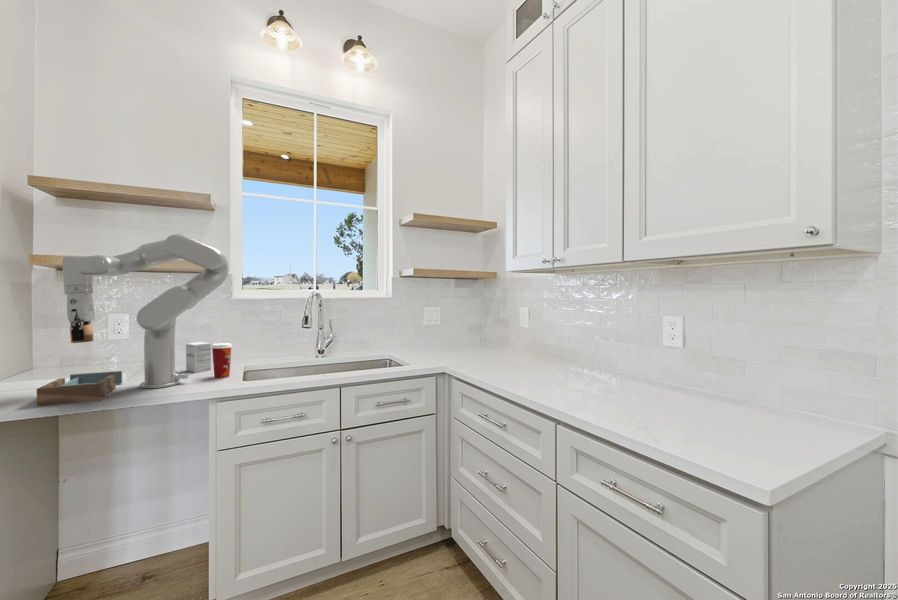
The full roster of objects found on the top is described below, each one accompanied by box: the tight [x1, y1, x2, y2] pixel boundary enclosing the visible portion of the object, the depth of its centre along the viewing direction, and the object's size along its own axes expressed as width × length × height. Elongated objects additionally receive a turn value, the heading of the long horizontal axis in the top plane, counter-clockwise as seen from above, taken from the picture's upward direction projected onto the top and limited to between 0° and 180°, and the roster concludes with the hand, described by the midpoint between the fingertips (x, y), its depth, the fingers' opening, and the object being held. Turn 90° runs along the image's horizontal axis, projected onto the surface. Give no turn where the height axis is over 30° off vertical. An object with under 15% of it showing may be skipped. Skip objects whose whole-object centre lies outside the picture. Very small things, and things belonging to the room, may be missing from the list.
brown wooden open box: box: [36, 375, 117, 407], centre depth 133 cm, size 16×16×6 cm
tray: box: [61, 370, 123, 386], centre depth 142 cm, size 15×15×5 cm
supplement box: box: [185, 341, 212, 373], centre depth 177 cm, size 7×7×13 cm
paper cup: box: [211, 342, 233, 379], centre depth 166 cm, size 8×8×14 cm
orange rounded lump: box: [69, 323, 94, 344], centre depth 141 cm, size 6×6×6 cm
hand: (82, 339), depth 141 cm, fingers closed on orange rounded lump, 6 cm apart
